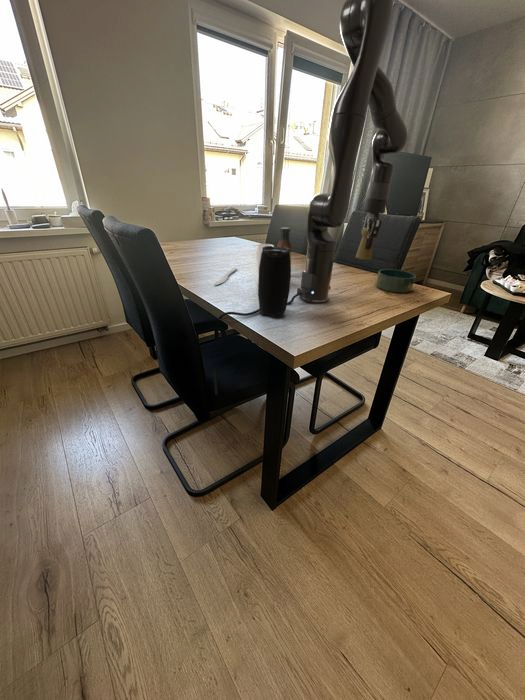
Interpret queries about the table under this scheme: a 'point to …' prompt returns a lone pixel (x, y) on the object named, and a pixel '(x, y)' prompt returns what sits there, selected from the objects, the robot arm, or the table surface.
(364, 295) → the table surface
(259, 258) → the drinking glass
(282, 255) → the portable speaker
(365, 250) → the cork
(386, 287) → the teal shallow bowl
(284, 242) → the sauce bottle
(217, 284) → the butter knife
